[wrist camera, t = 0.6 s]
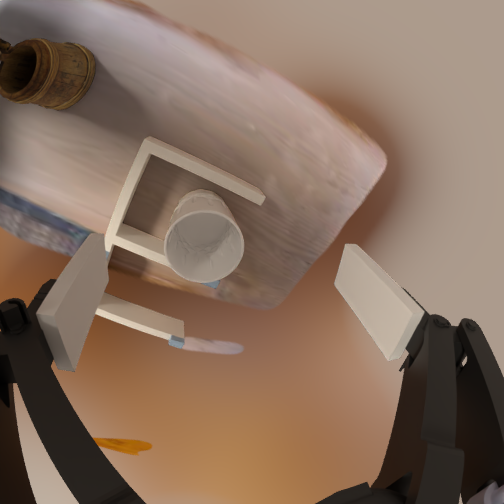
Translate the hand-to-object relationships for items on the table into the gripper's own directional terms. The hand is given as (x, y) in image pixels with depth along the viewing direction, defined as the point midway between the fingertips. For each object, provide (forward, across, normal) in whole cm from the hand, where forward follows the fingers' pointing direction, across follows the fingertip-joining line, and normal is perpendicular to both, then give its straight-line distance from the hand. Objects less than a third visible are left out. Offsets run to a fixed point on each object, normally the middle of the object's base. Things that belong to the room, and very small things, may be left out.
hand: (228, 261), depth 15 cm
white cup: (+22, -1, -5) cm, 23 cm away
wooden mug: (+22, -22, +14) cm, 34 cm away
